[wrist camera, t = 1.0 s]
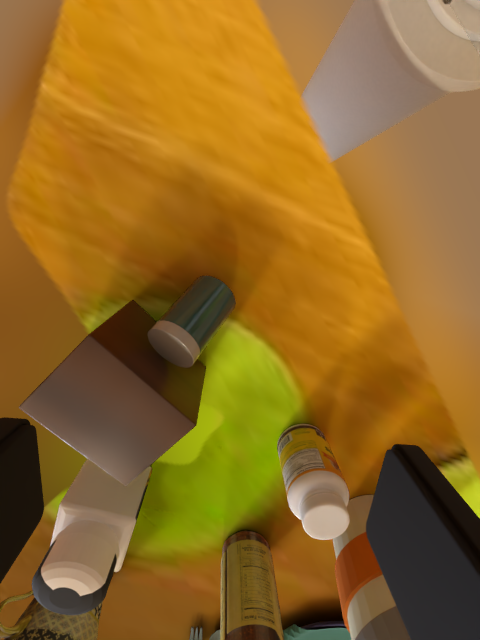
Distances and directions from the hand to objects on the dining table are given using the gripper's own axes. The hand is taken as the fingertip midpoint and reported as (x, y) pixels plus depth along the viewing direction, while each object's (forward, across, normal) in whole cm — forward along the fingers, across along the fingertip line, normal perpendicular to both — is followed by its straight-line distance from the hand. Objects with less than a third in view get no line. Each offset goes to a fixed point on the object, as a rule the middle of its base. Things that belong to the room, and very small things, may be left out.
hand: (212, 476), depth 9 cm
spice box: (+23, +8, +8) cm, 26 cm away
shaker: (+19, +2, +2) cm, 20 cm away
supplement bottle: (+24, -10, +16) cm, 30 cm away
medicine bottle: (+24, +11, +24) cm, 35 cm away
